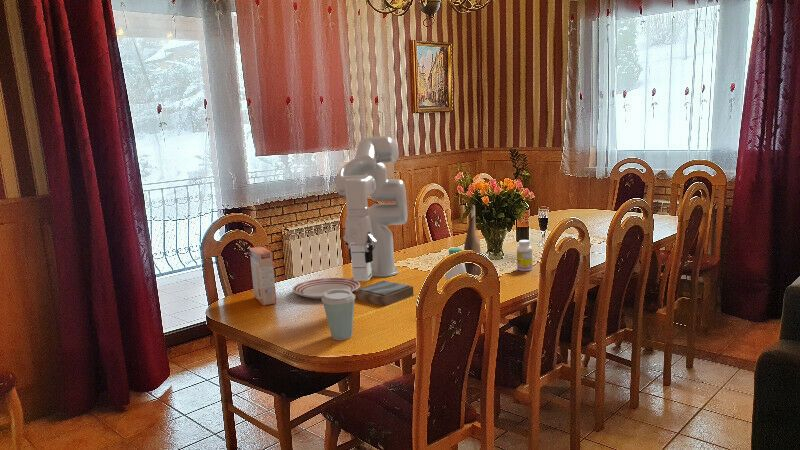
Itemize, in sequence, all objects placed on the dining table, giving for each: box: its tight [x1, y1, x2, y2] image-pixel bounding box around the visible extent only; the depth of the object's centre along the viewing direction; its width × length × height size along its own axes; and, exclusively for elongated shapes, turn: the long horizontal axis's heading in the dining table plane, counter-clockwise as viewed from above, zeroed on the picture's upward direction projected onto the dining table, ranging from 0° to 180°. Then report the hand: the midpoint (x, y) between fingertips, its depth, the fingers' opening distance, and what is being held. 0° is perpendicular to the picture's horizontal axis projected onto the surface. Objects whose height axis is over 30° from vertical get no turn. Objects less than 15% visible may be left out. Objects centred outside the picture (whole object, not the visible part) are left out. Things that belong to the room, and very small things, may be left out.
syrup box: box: [350, 242, 373, 282], centre depth 216 cm, size 6×6×14 cm
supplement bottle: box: [516, 239, 533, 272], centre depth 260 cm, size 7×7×13 cm
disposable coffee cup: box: [321, 289, 356, 341], centre depth 190 cm, size 11×11×15 cm
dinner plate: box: [292, 277, 361, 300], centre depth 243 cm, size 27×27×3 cm
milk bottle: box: [445, 247, 466, 281], centre depth 220 cm, size 8×8×20 cm
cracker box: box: [249, 246, 277, 307], centre depth 235 cm, size 14×6×21 cm, turn 27°
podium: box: [354, 280, 414, 307], centre depth 232 cm, size 16×16×4 cm
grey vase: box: [463, 204, 482, 276], centre depth 246 cm, size 11×12×32 cm
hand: (361, 260), depth 216 cm, fingers closed on syrup box, 7 cm apart
